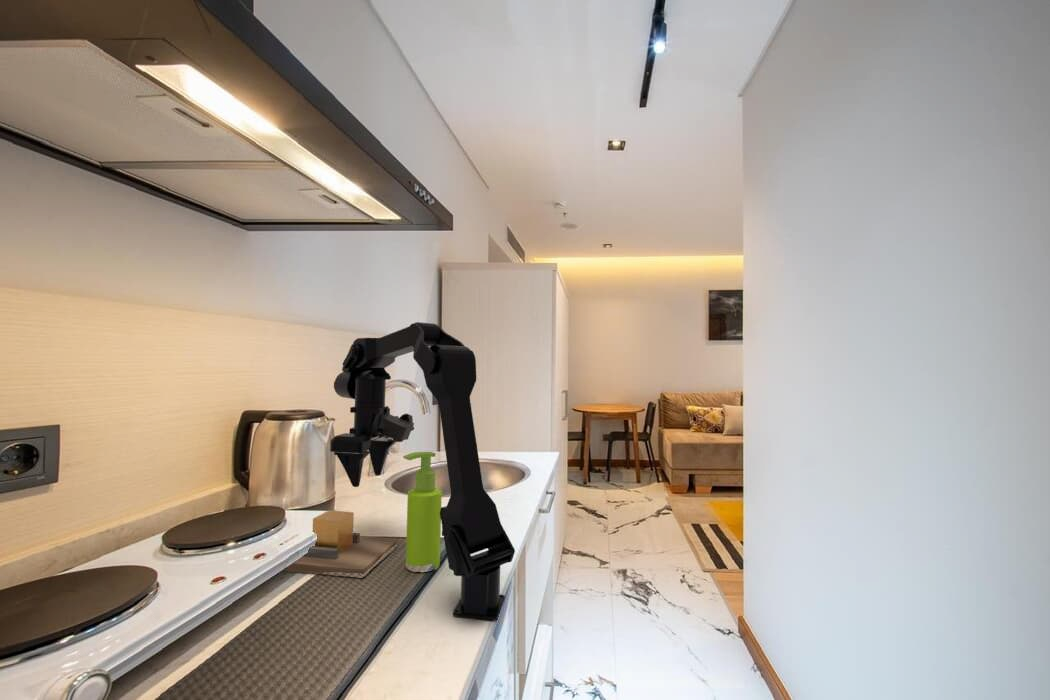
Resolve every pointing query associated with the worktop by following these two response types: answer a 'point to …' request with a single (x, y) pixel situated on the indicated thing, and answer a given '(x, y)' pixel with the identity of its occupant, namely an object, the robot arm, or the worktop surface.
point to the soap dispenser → (423, 515)
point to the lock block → (334, 529)
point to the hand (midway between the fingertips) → (367, 480)
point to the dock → (344, 556)
